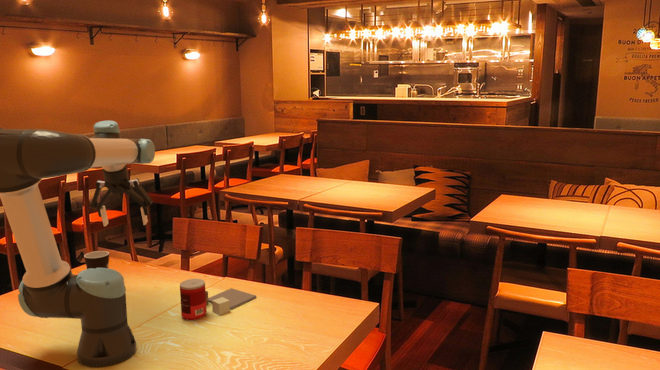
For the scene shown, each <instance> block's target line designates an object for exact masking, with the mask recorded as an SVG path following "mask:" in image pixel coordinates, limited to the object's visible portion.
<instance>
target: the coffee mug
mask: <svg viewBox="0 0 660 370" xmlns="http://www.w3.org/2000/svg"><path fill="white" fill-rule="evenodd" d="M83 258H84V261H85V267H86V269H90V268H93V269H95V268H109V263H110V261H109V259H110V252H109V251H106V250H97V251H96V250H95V251H90V252H88V253H85V254H84V255H83ZM109 269H110V268H109Z"/></svg>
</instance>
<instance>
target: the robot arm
mask: <svg viewBox="0 0 660 370" xmlns="http://www.w3.org/2000/svg"><path fill="white" fill-rule="evenodd" d="M93 133H94V134H93V135H92V136H90V137H88V136H87V135H84V134H80V133H71V132H64V131H57V130H52V129H46V128H45V129H42V128H41V129H40V128H24V129H23V128H17V129H16V128H3V127H2V128H1V127H0V200H1V203H2V207H3V209H4V213H5V215H6V218H7V220H8V224H9V226H10V229H11V232H12V234H13V237H14V241H15V243H16V246H17V249H18V252H19V255H20V257H21V260H22V263H23V266H24V269H25V272H24V274H23V276H22V280H21V281H20V283H19V285H18V290H17V291H18V292H19V294H17V299H18V302H19V306H20V308H21V309H22V311H23V312H24V313H25V314H27V315H28V316H30V317H34V318H40V319H49V318H50V319H51V318H52V319H53V318H54V319H79V320H80V324H81V334H80V338H79V341H78V346H77V350H76V358H77V361H78V363H79V364H80V365H82V366H85V367H91V368H100V367H109V366H112V365H117V364H120V363H122V362H125V361H126V360H128V359H130V358H131V357H132V356H134V355H135V353H136V352H137V341H136V338H135V336H134V334H133V332H132V330H131V328H130V325H129V322H128V321H129V320H128V311H127V296H126V291H127V288H126V286H125V285H126V284H125V278H124V277H123V275H122V273H120V272H119V271H117V270H116V269H113V268H95V269H93V268H90V269H87V268H86V269H83V270H81V271H79V272H78V273H77V274H73V271H72V268H71V265H70V264H69V262H67V261H65V260H62V258H61V255H60V251H59V249H58V245H57V242H56V238H55V236H54V235H55V234H54V233H53V229H52V225H51V222H50V219H49V216H48V213H47V210H46V207H45V204H44V201H43V197H42V194H41V191H40V188H39V184H40V183H41V181H42V180H43V179H51V178H57V177H61V176H66V175H73V174H79V173H84V172H86V171H89V170H90V169H91V168H97V167H98V168H99V167H101V168H102V173H103V178H104V181H103V180H101V179H98V180H97V181H96V183H95V190H94V194H93V198H92V200H91V202H90V208H93V209H94V208H95V209H96V210H97V215H98V217H99V218H101V220H102V225H103V227H107V226H108V225H109V218H108V215H107V214H108V213H107V209H106V206H105V205H104V204H105V203H106V200H108V198H109V197H110V195H111V194H113V195H117V194H120V195H123V194H125V195H127V196H129V197H130V198H131V199H133V200H134V201H135V202H136V203H137V204H138V205H139V206H140V212H141V213H140V214H141V219H142V225H143V226H146V225H147V223H148V222H149V220H148V215H149V213H150V211H149V206H151V205H152V203H154V202H153V201H154V200H153V198H151V196H150V195H149V193H148V192H147V191H146V190H145V189H144V187H143V186H142V184H141V182H140V179H139V178H135V179H132V180H131V179H130V177H129V173H128V168H127V165H133V164H136V165H137V164H138V165H140V164H141V165H143V164H144V165H145V164H151V163H152V162H153V161H154V160H155V155H156V147H155V143H154V142H153V141H152V139H147V138H122V137H121V135H122V134H121V129H120V127H119V124H118V122H117V121H114V120H102V121H101V120H100V121H98V122H95V123H94V125H93ZM131 186H132V187H131ZM104 187H105V188H107V191H106V192H105V194H104V195H103V197H102V198H101V200H100V201H99V198H100V194H101V191H102V189H103V188H104ZM133 188H134V189H135V190H136V191H135V190H134V189H133ZM98 201H99V202H98Z"/></svg>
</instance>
